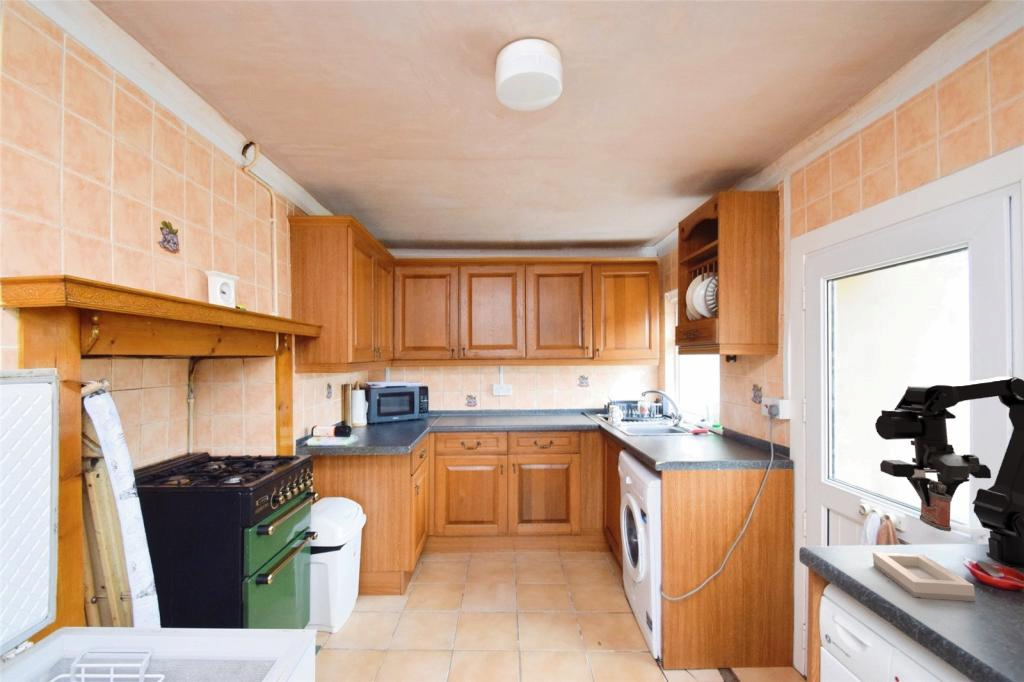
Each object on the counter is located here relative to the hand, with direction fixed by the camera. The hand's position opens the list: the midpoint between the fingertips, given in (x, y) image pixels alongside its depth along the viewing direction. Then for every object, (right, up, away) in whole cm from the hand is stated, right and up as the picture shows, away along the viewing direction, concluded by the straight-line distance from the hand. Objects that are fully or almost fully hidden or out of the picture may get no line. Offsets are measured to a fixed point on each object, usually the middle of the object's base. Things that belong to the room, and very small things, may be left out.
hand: (936, 506), depth 102 cm
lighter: (0, -4, 0) cm, 4 cm away
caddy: (-11, -13, -8) cm, 19 cm away
